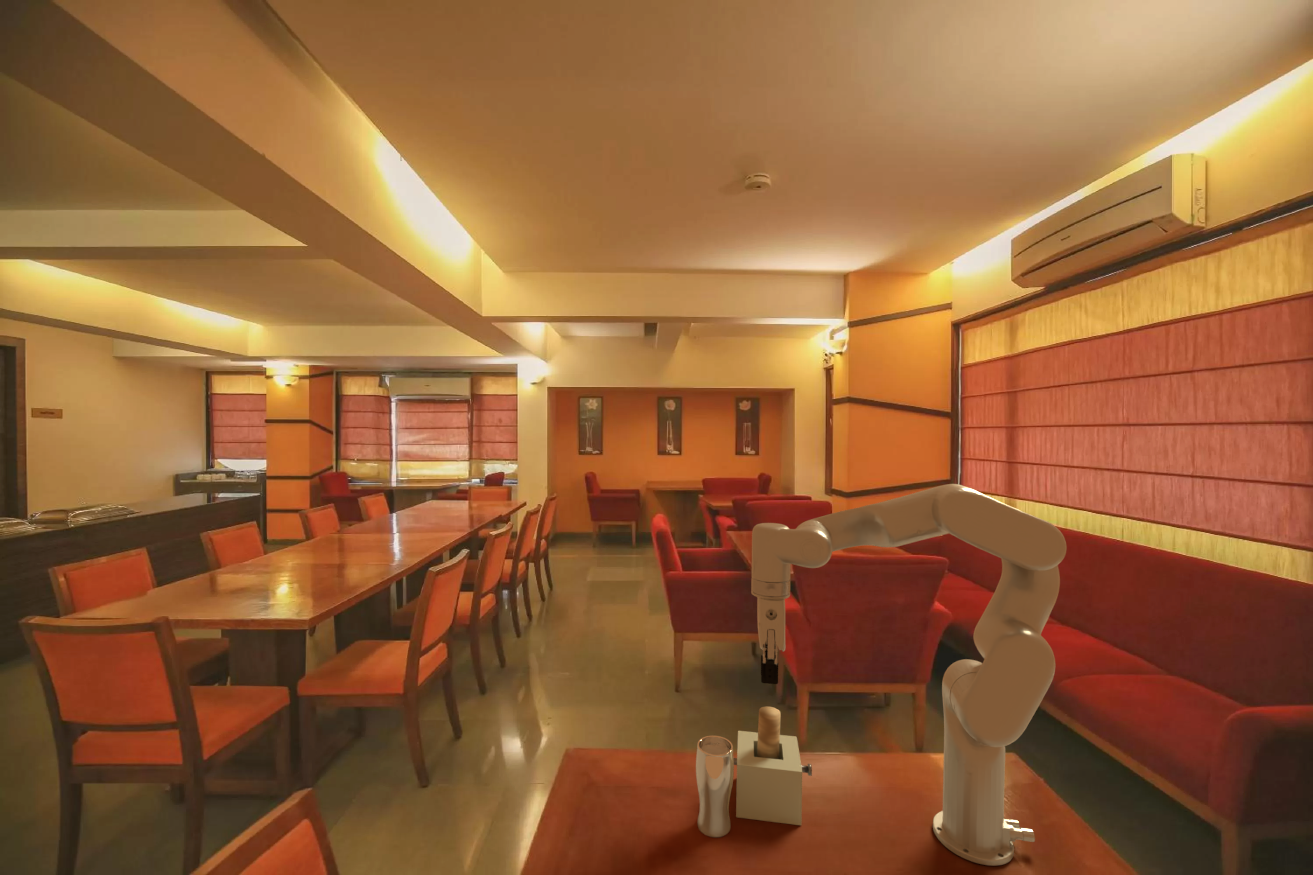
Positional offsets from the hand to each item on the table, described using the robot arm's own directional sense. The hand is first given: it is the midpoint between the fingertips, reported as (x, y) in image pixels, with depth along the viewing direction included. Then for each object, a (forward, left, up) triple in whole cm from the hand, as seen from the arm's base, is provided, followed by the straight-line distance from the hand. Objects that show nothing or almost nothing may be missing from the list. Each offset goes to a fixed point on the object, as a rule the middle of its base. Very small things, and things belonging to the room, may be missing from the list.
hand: (769, 678), depth 108 cm
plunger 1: (+5, 0, -18) cm, 19 cm away
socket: (0, 0, -24) cm, 24 cm away
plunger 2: (-5, 0, -18) cm, 19 cm away
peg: (0, 0, -17) cm, 17 cm away
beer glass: (+10, +9, -24) cm, 28 cm away
